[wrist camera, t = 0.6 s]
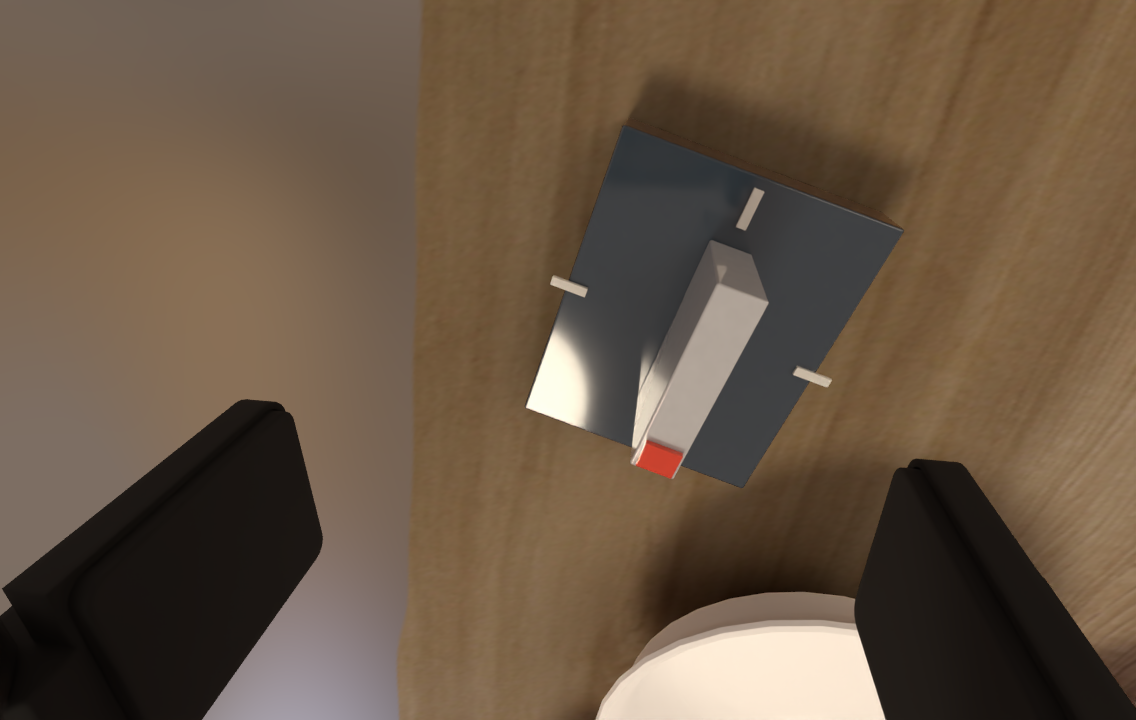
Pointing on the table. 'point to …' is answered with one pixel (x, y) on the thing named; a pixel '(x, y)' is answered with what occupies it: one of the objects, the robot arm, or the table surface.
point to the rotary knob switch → (662, 276)
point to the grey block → (696, 357)
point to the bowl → (752, 664)
